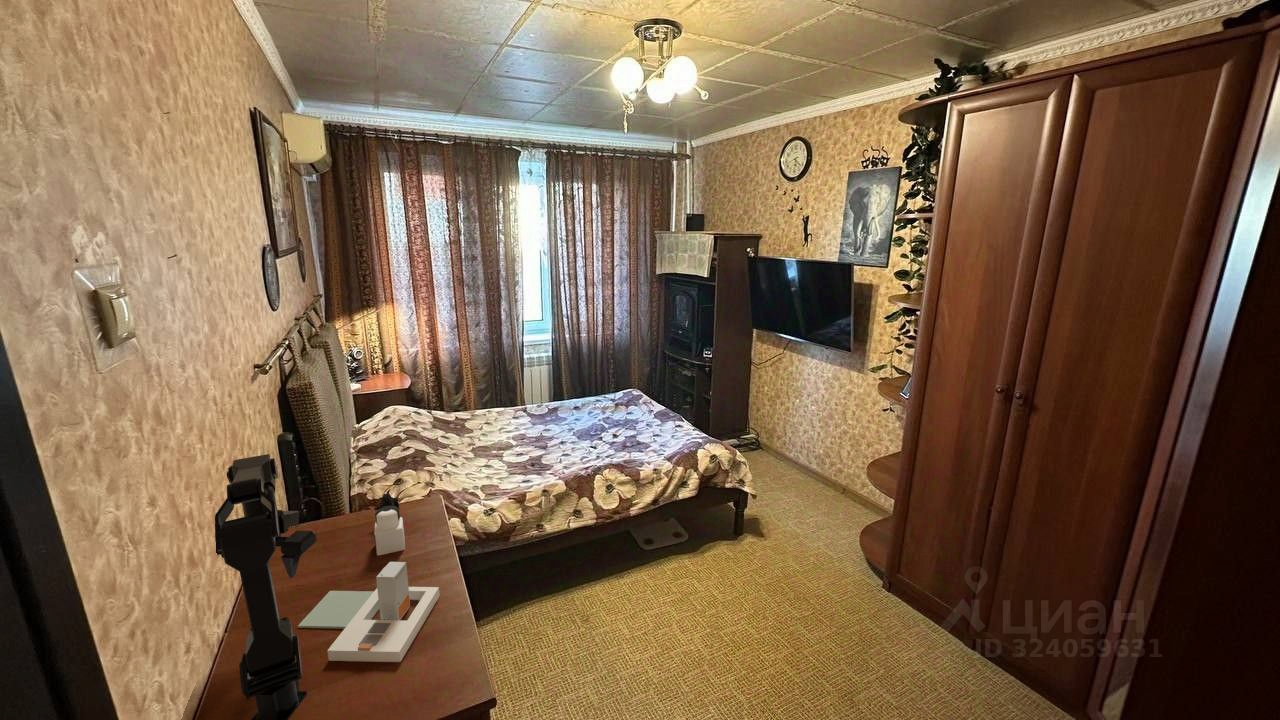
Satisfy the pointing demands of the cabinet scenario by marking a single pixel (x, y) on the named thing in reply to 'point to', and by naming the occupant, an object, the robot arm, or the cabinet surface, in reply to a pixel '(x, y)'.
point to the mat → (336, 609)
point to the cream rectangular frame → (382, 630)
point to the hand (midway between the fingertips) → (272, 576)
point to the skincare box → (393, 591)
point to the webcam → (388, 501)
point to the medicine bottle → (389, 530)
